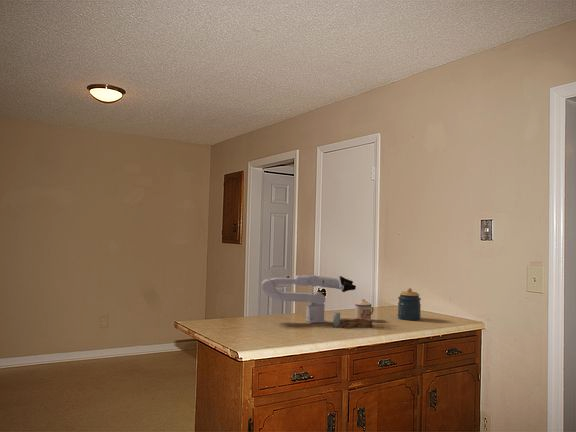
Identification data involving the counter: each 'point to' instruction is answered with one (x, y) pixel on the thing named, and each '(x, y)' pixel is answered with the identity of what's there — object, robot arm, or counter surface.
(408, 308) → the canister
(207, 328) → the counter surface
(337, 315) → the peg
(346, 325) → the groove board
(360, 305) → the teacup with lid
